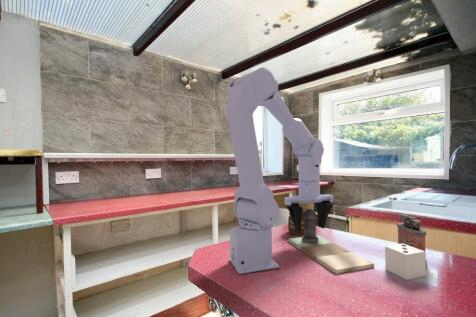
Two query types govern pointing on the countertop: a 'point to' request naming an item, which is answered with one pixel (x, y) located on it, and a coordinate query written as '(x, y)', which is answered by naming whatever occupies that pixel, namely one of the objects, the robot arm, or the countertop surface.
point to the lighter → (411, 233)
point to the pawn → (309, 227)
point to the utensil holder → (291, 224)
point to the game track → (332, 255)
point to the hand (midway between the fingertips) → (309, 228)
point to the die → (405, 261)
